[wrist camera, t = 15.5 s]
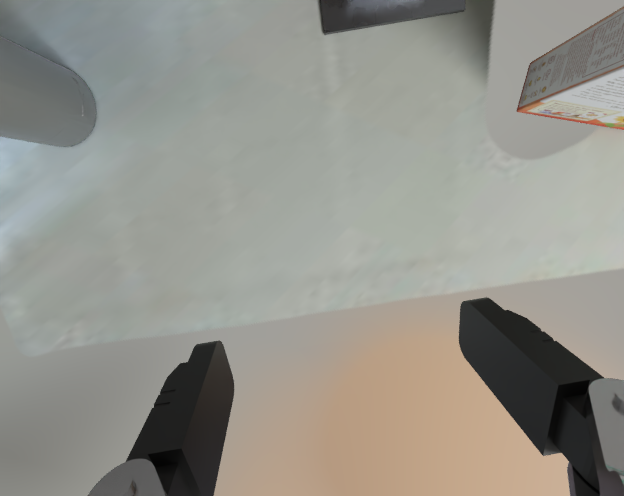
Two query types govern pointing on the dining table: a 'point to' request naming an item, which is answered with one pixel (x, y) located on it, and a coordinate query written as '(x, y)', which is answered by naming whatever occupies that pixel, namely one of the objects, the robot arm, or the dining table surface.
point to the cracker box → (581, 77)
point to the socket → (381, 12)
